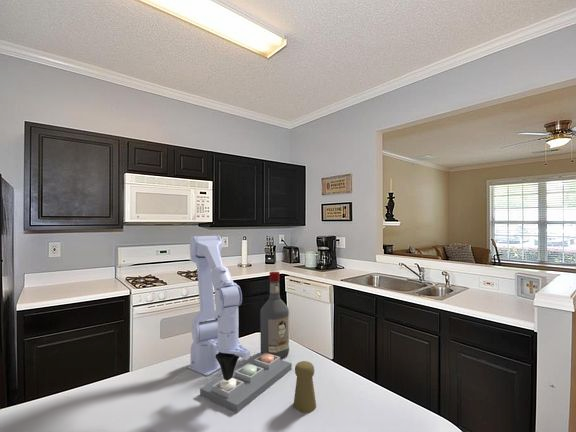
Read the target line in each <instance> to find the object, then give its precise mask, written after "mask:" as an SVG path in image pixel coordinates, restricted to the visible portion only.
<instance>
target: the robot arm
mask: <svg viewBox="0 0 576 432" xmlns="http://www.w3.org/2000/svg"><path fill="white" fill-rule="evenodd" d="M222 249H223V240H222V238H221V235H218V234H217V235H203V236H202V235H201V236H200V235H199V236H196V235H193V236H191V238H190V239H189V253H190V254H189V255H190V256H189V257H190V261H192V262H193V263H195V266H196V270H197V271H196V272H197V285H198V286H197V287H198V297H199V298H198V301H199V312H197V314H196V315H195V316H194V317H193V319H192V321H191V323H192V325H191V337H192V340H193V341H192V343H191V346H190V365H189V366H188V369H190V370H192V371H194V372H196V373H199V374H202V375H205V376H207V377H208V376H210V375H211V374H213V373H216V372H217V371H218V370H220V369H221V373H222V375H223V377H224V380H227V381H228V380H230V379H231V378H232V377H233V373H234V369H235V367H236V366H237V365H236V364H237V362H238V360H239V359H240V358H242V360H244V361H246V360H248V359H249V358H251V350H250V349H248V348H246V347H244V346H243V345H242V344H241V341H240V340H239V306H241V305H242V303H243V294H242V293H243V292H242V290H241V287H240V285H238V284H237V283H236V282H234V280H233V278H232V275H231V272H230V270H229V268H228V267H227V266H224V264H223V263H224V262H223V260H222V256H221V252H222Z"/></svg>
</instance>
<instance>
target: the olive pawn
mask: <svg viewBox="0 0 576 432" xmlns="http://www.w3.org/2000/svg"><path fill="white" fill-rule="evenodd" d="M294 373H295V376H296V382H295V389H294V390H295V391H294V396H293V397H294V398H293V408H294V410H296V411H297V412H299V413H303V414H304V413H306V414H307V413H311V412H313V411H315V410H316V408H317V402H316V401H317V400H316V394H315V393H316V392H315V387H314V386H315V384H314V381H313V379H314V378H313V377H314V376H315V367H314V364H313V363H312V362H310V361H307V360H301V361H299V362H297V363H296V365H295V367H294Z"/></svg>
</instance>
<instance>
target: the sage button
mask: <svg viewBox="0 0 576 432" xmlns="http://www.w3.org/2000/svg"><path fill="white" fill-rule="evenodd" d="M256 372H257V367H256V366H254V365H247V366H244V367H243V368H242V373H243V374H245V375H248V376H252V375H253V374H255V373H256Z"/></svg>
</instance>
